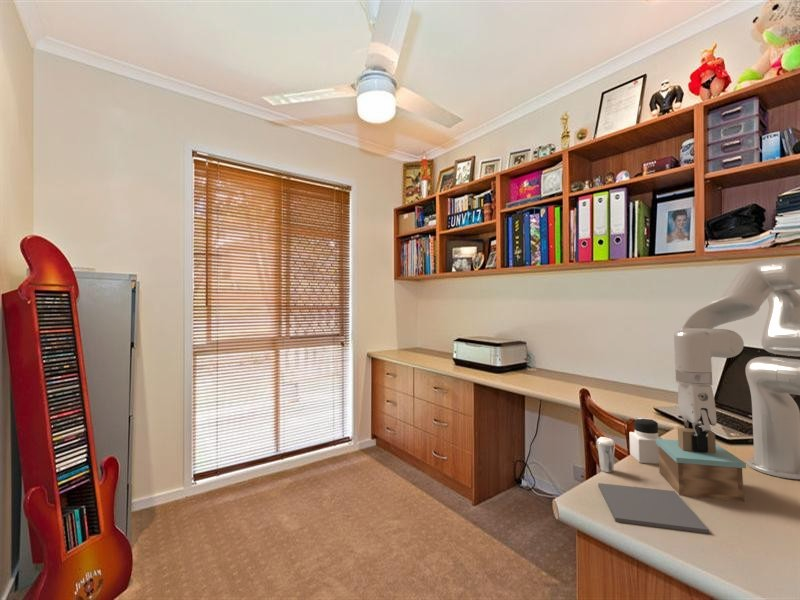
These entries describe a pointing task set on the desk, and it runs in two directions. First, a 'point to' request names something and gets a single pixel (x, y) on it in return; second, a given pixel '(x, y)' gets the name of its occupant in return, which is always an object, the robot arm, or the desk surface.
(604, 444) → the milkshake
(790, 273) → the robot arm
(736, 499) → the storage box
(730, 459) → the lid
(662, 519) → the desk mat
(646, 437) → the medicine bottle
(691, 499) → the desk surface
